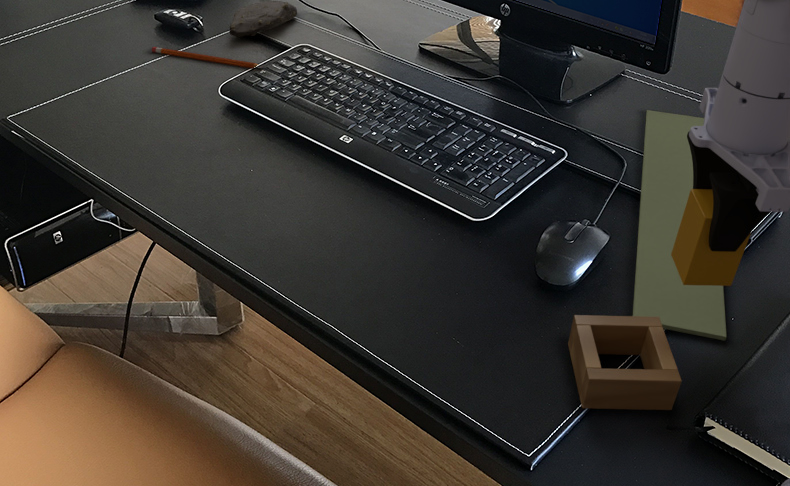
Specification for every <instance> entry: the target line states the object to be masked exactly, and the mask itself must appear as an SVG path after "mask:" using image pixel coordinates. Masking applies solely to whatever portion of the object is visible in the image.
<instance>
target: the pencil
mask: <svg viewBox="0 0 790 486" xmlns="http://www.w3.org/2000/svg"><path fill="white" fill-rule="evenodd" d="M151 52H152V53H156V54H162V55H169V56H174V57H181V58H186V59H193V60H197V61H204V62H210V63H215V64H216V63H217V64H223V65H228V66H229V65H230V66H234V67H241V68H247V69H253V68H254V67H256V66H257V65H259V64H258V63H256V62H249V61H244V60H239V59H232V58H226V57H219V56H213V55H209V54H208V55H207V54H201V53H195V52H188V51H182V50H176V49H169V48H164V47H158V46H152V47H151Z"/></svg>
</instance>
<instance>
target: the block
mask: <svg viewBox="0 0 790 486" xmlns="http://www.w3.org/2000/svg"><path fill="white" fill-rule="evenodd" d="M712 215H713V190H712V189H691V191H690V194H689V197H688V201H687V204H686V207H685V210H684V214H683V217H682V220H681V224H680V227H679V230H678V233H677V237H676V240H675V243H674V247H673V250H672V253H671V256H672V258H673V261H674V263H675V265H676V268H677V270H678V273H679V275H680V278H681V280H682V283H683V285H713V286H723V287H732V284H733V282H734V279H735V276H736V274H737V271H738V268H739V266H740V264H741V261H742V258H743V255H744V253H745V251H746V247H747V246H748V242H749V240H750V238H751V234H752V232H751V233H750V234H749V235H748V237H747V238H746V239H745V241H744V242H743V243H742V244H741V246H740V247H739V248H738V249H737V251H735V252H723V251H711V249H710V247H709V231H710V225H711V220H712Z"/></svg>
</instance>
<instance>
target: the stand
mask: <svg viewBox="0 0 790 486" xmlns="http://www.w3.org/2000/svg"><path fill="white" fill-rule="evenodd" d="M571 323H572V324H571V328H570V332H569V338H568V342H567V346H568V350H569V354H570V359H571V363H572V364H571V365H572V368H573V374H574V376H575V378H574V379H575V384H576V387H577V393H578V396H579V401H580V405H581V409H596V410H597V409H598V410H601V409H602V410H642V411H643V410H646V411H648V410H649V411H672V410H673V407H674V404H675V401H676V399H677V397H678V393H679V391H680V387H681V385H682V382H683V380H682V378H681V375H680V372H679V370H678V366H677V364H676V361H675V358H674V355H673V351H672V349H671V347H670V344H669V341H668V338H667V335H666V333H665V329H663V327H662V324H661V321H660V318H659V317H645V316H633V315H593V314H592V315H590V314H589V315H587V314H573V318H572V322H571ZM599 355H616V356H617V355H620V356H623V355H624V356H639V357H640V360H641V363H642V366H643V369H642V368H602V365H601V360H600V356H599Z"/></svg>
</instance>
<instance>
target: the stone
mask: <svg viewBox="0 0 790 486" xmlns="http://www.w3.org/2000/svg"><path fill="white" fill-rule="evenodd" d="M297 15H298V9H297V7H296V6H294V5H293V4H291V3H289V2H287V1H282V0H264V1H259V2H256V3H253V4H252V3H251V4H249V5H246V6H243V7H240V8H238V10H237V11H236V12H235V13H234V15H233V19H232V22H231V23H230V25H229V31H228V32H229V35H231V36H232V37H236V38H240V37H241V38H242V37H249V36H250V37H255V36H256V35H257V34H258V33H260V32H264V31H268V30H271V29H274V28H276V27H278V26H281V25H284V24H285V23H287V22H289V21H291V20H293V19H295V17H296V16H297Z"/></svg>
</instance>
